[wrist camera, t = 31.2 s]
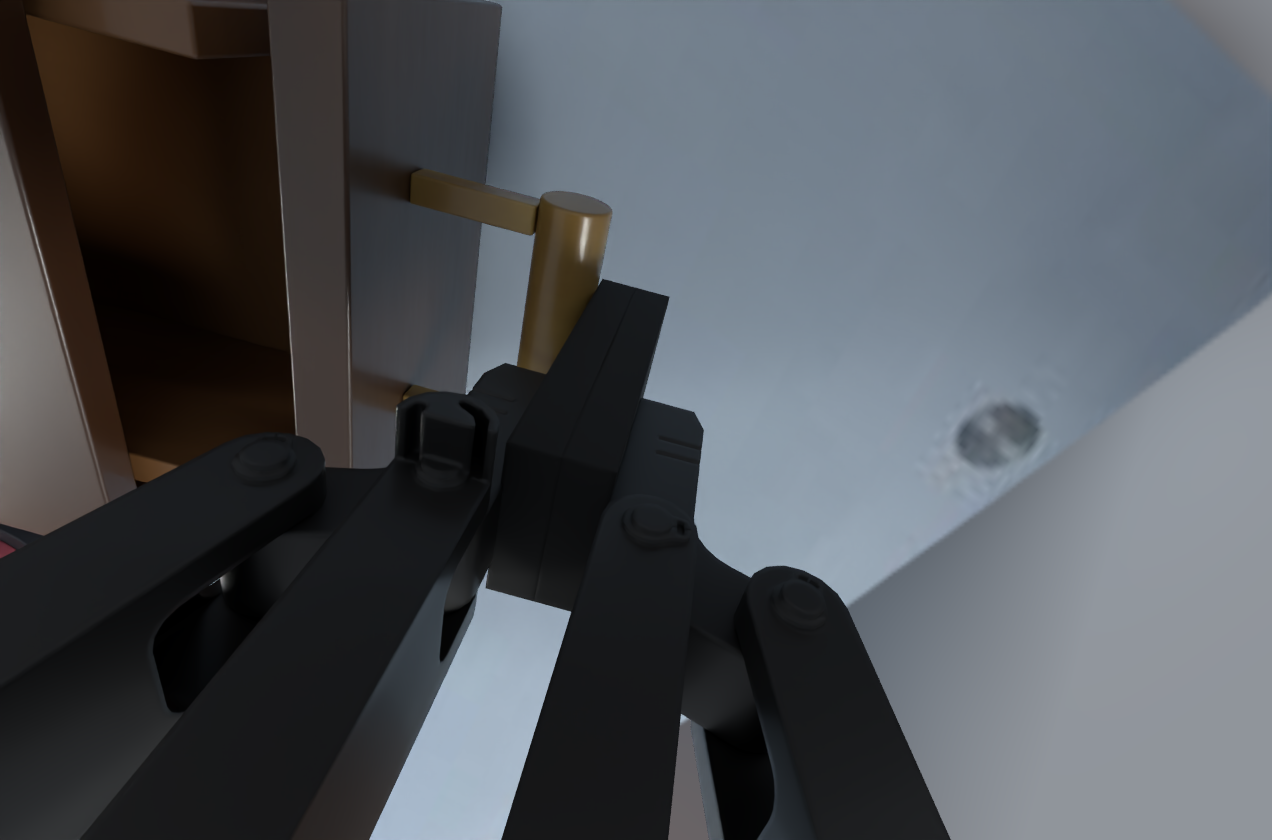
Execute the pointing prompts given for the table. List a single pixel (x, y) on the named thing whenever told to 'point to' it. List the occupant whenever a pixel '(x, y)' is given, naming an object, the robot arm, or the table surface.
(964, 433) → the table surface
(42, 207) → the cabinet
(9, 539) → the ball-topped pink peg
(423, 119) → the drawer
